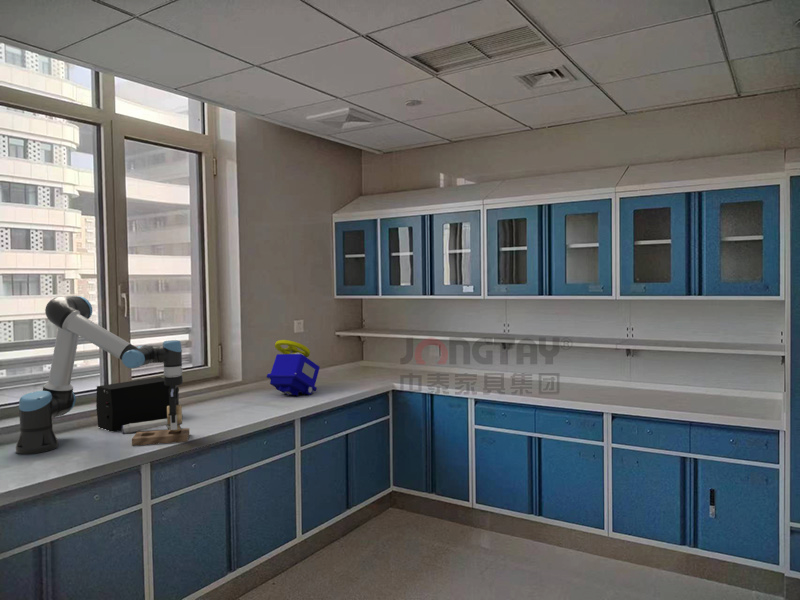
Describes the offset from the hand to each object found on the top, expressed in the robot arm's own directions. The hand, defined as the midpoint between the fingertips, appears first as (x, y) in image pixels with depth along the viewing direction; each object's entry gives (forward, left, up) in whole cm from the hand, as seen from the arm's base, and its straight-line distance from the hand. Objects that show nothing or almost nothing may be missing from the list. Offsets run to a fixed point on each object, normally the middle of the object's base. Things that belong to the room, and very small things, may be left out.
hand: (174, 427), depth 261 cm
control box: (+57, +90, -5) cm, 107 cm away
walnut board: (-6, 0, -5) cm, 8 cm away
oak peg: (0, 0, -1) cm, 1 cm away
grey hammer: (-12, +19, -6) cm, 23 cm away
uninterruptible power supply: (-22, +37, -5) cm, 44 cm away
